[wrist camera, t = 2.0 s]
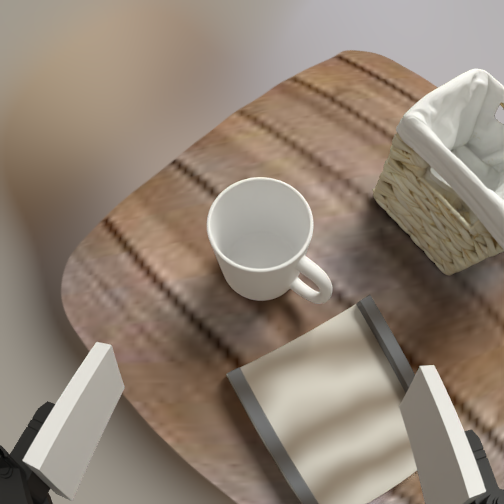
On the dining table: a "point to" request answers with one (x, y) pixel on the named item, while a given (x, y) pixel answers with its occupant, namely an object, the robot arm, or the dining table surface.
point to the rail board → (333, 408)
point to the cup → (265, 240)
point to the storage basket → (450, 173)
